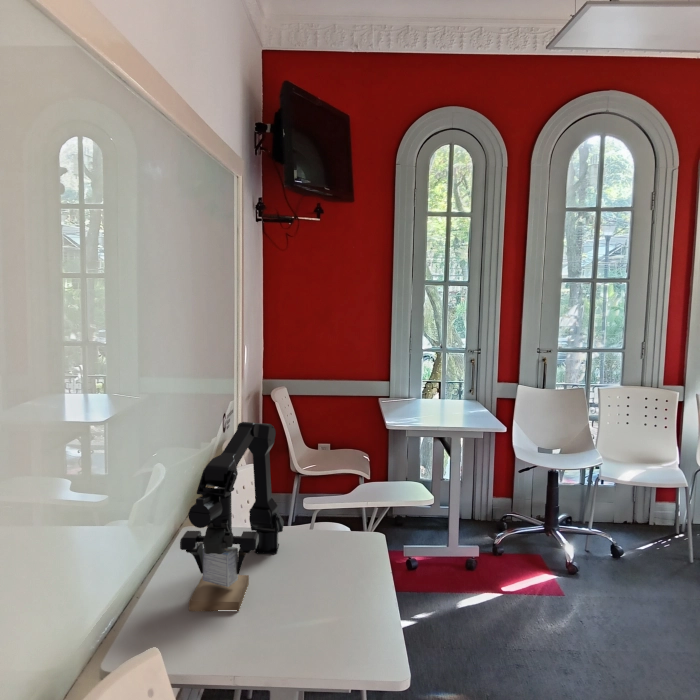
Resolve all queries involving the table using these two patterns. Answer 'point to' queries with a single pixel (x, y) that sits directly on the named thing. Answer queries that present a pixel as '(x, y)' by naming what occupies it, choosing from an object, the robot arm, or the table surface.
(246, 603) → the table surface
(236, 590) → the flat brown cardboard box
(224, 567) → the medicine box
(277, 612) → the table surface
